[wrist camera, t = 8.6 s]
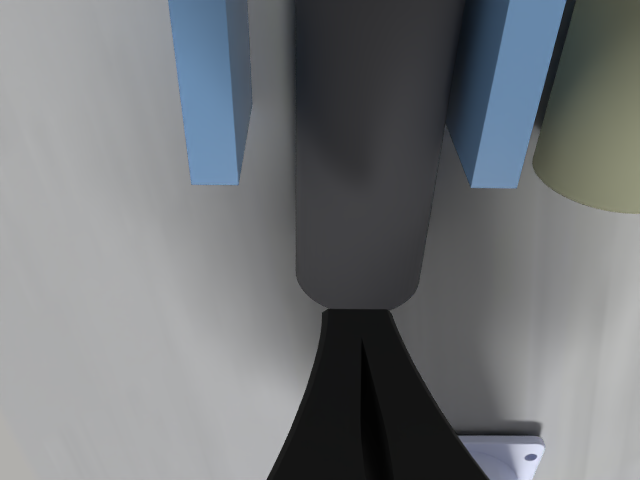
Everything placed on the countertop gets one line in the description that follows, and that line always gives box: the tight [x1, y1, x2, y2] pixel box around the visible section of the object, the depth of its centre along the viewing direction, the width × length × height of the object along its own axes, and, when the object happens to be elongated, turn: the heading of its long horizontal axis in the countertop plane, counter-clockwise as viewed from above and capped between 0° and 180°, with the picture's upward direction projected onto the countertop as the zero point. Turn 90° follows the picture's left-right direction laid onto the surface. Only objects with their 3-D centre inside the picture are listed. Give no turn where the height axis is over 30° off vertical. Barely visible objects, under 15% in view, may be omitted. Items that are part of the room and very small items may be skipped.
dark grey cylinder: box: [296, 0, 466, 310], centre depth 15 cm, size 10×4×4 cm, turn 179°
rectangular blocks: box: [168, 0, 566, 188], centre depth 13 cm, size 4×19×4 cm, turn 89°
